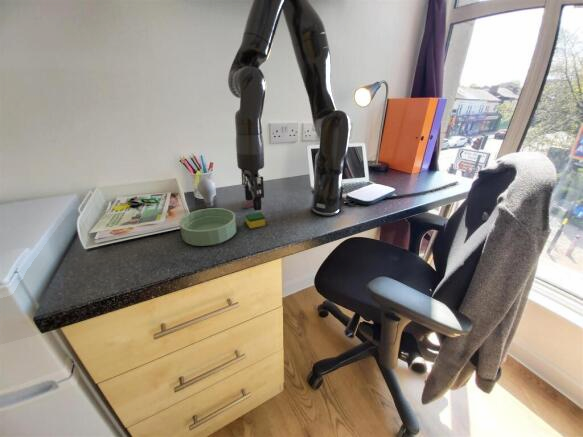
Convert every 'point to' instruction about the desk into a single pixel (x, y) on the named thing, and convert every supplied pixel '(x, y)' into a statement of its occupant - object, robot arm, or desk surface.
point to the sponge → (255, 220)
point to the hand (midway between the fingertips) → (253, 204)
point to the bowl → (208, 226)
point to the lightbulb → (207, 191)
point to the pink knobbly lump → (248, 203)
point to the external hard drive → (370, 194)
